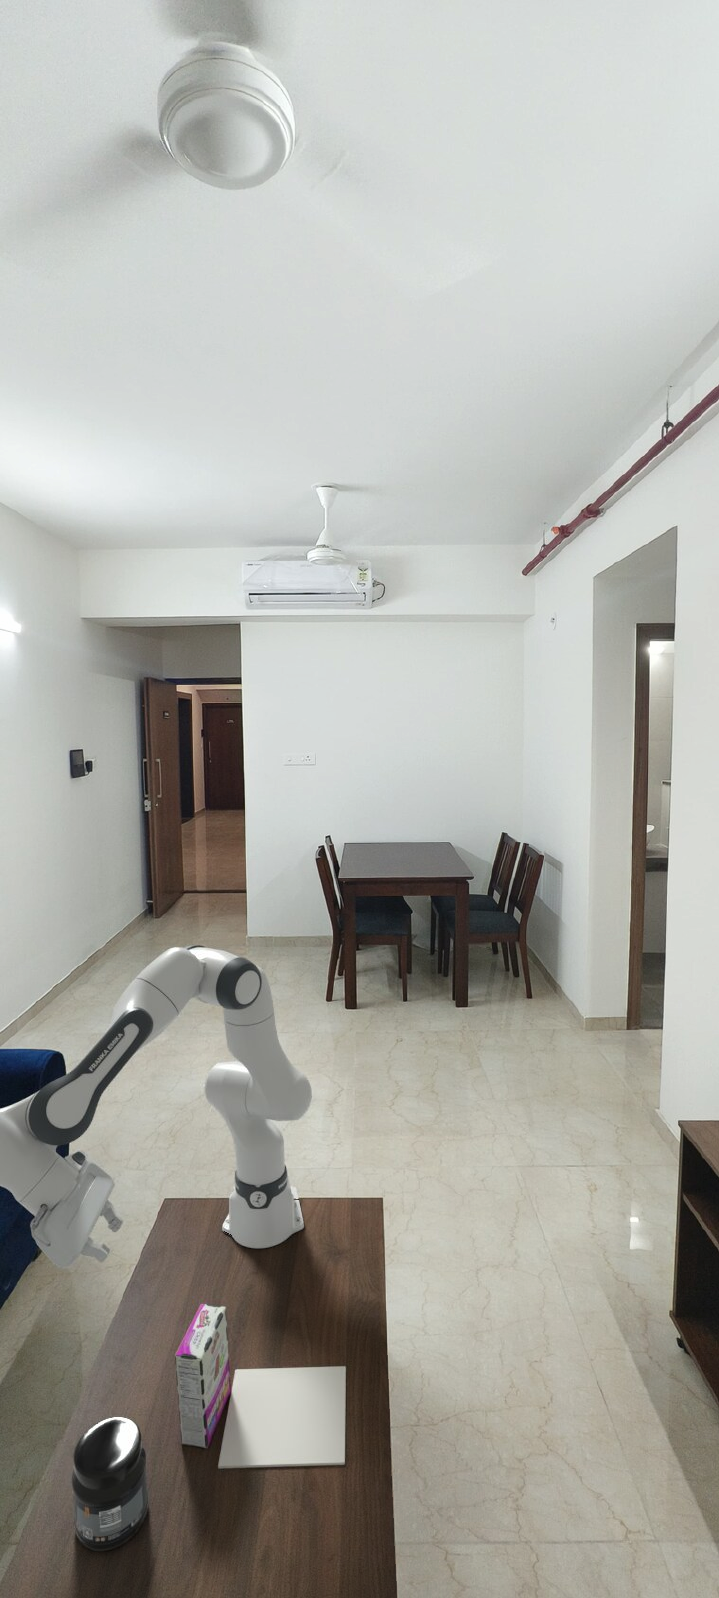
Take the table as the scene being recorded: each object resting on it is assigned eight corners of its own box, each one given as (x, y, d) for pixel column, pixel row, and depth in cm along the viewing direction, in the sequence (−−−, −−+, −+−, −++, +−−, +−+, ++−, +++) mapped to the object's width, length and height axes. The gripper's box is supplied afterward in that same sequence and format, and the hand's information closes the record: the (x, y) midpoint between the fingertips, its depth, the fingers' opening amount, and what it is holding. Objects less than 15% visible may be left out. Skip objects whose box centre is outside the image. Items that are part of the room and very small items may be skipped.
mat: (235, 1371, 139) (235, 1369, 139) (345, 1368, 139) (345, 1366, 139) (218, 1468, 121) (218, 1466, 121) (344, 1464, 121) (344, 1462, 121)
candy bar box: (205, 1387, 136) (200, 1301, 134) (231, 1391, 135) (227, 1305, 133) (178, 1446, 125) (173, 1354, 124) (207, 1451, 124) (202, 1358, 123)
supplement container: (119, 1469, 122) (114, 1400, 120) (164, 1507, 116) (159, 1435, 114) (59, 1527, 113) (54, 1454, 112) (104, 1572, 107) (99, 1495, 106)
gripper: (39, 1216, 119) (106, 1273, 120) (84, 1143, 140) (141, 1192, 141) (12, 1243, 120) (79, 1300, 121) (61, 1167, 140) (118, 1216, 141)
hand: (113, 1241), depth 131 cm, fingers open, 6 cm apart
